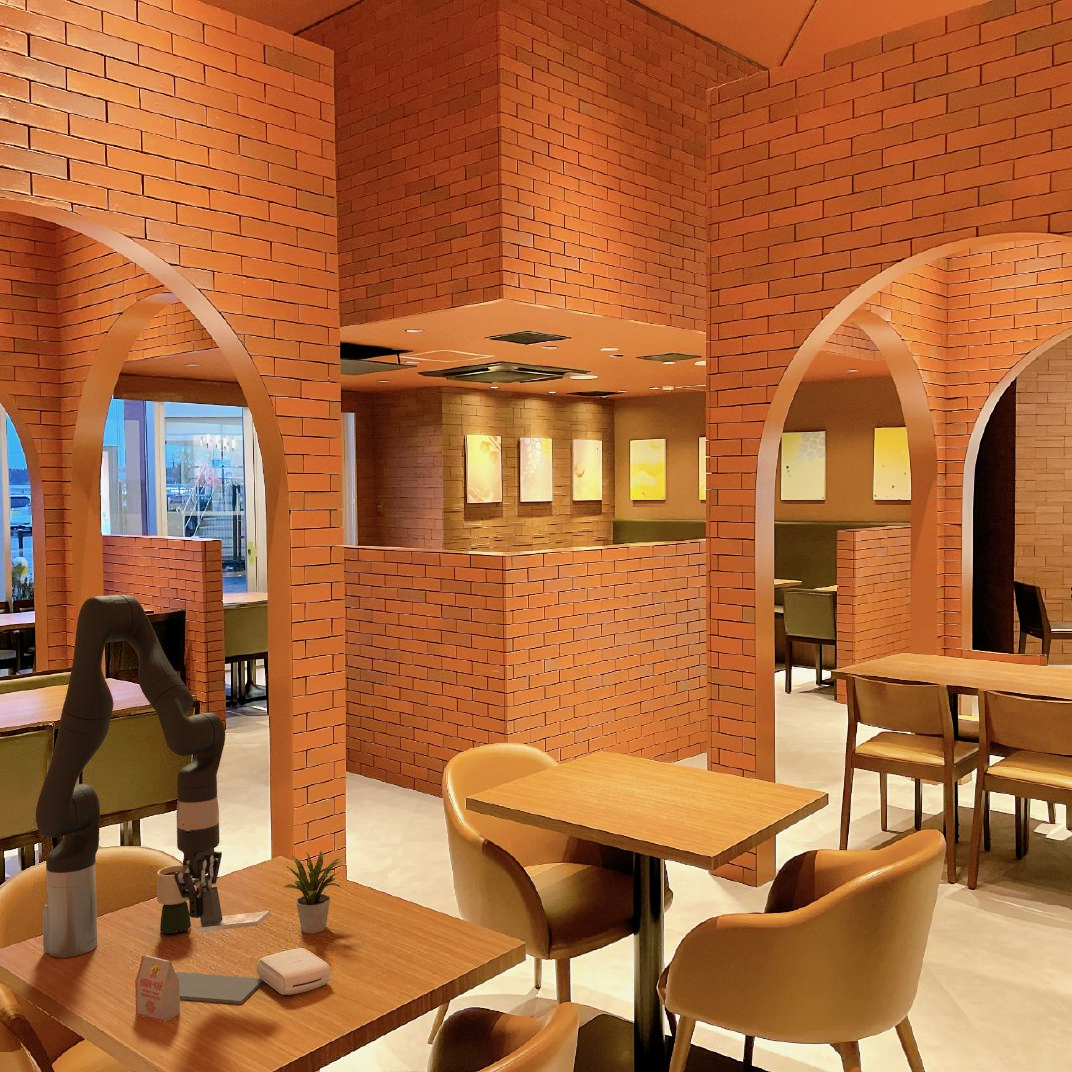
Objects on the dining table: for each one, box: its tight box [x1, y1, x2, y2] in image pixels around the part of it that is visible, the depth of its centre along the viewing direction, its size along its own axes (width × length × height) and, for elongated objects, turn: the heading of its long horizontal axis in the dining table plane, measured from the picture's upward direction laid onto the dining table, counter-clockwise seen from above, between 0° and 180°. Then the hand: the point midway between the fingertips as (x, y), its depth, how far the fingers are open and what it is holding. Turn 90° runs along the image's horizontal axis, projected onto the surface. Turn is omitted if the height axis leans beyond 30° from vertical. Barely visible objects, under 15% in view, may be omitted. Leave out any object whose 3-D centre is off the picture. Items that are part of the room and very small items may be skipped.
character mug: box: [156, 864, 192, 934], centre depth 216 cm, size 11×7×13 cm, turn 46°
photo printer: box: [255, 947, 332, 996], centre depth 190 cm, size 10×4×12 cm
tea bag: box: [134, 954, 181, 1023], centre depth 179 cm, size 4×7×10 cm, turn 63°
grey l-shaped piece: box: [197, 886, 271, 933], centre depth 187 cm, size 12×5×7 cm, turn 79°
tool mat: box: [175, 971, 265, 1005], centre depth 188 cm, size 18×9×1 cm, turn 79°
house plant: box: [282, 850, 346, 934], centre depth 215 cm, size 14×14×16 cm
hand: (199, 913), depth 189 cm, fingers closed on grey l-shaped piece
